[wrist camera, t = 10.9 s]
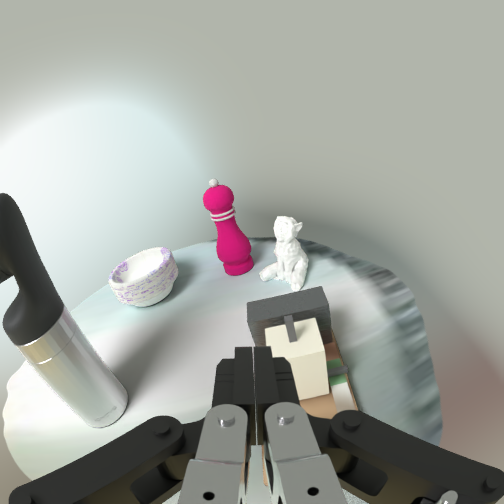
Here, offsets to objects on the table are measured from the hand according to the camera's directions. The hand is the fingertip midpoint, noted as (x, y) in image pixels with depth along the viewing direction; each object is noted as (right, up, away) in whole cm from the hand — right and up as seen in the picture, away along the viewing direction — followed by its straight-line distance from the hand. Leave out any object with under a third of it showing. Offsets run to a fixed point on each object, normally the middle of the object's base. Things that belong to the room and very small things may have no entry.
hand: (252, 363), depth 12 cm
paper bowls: (-22, -5, +51) cm, 56 cm away
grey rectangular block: (+6, -8, +28) cm, 29 cm away
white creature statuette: (+7, 0, +45) cm, 46 cm away
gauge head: (+7, -11, +21) cm, 25 cm away
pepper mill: (-3, +1, +52) cm, 52 cm away
